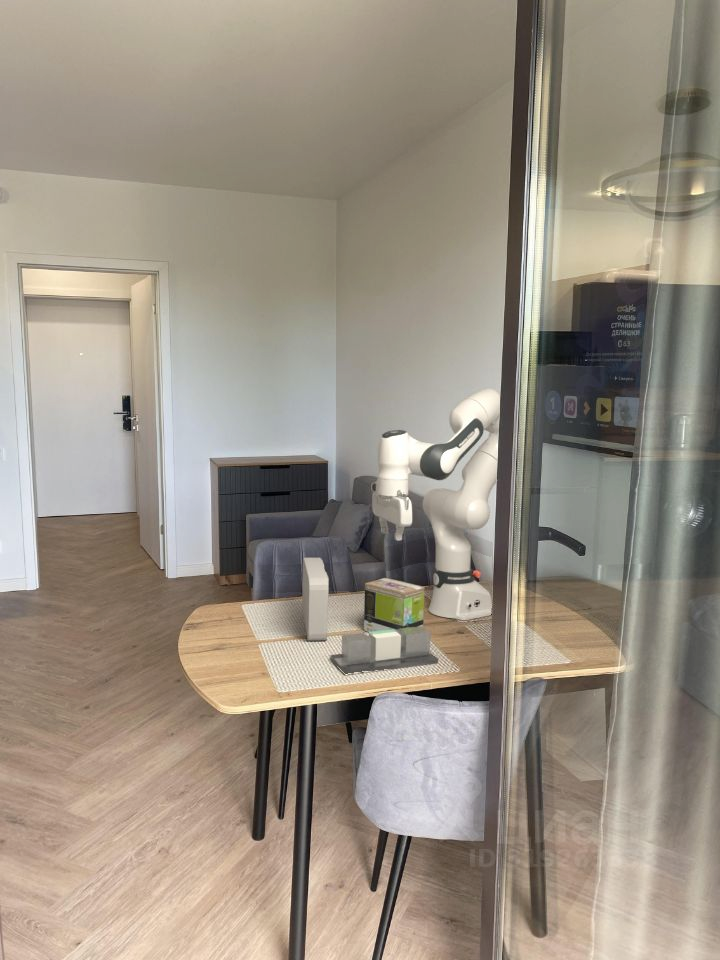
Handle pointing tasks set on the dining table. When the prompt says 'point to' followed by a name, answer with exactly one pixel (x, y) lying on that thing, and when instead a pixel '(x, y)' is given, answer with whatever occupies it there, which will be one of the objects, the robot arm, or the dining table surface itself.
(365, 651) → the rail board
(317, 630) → the rounded white slab
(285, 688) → the dining table surface
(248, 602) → the dining table surface
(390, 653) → the block
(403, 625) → the tea box
